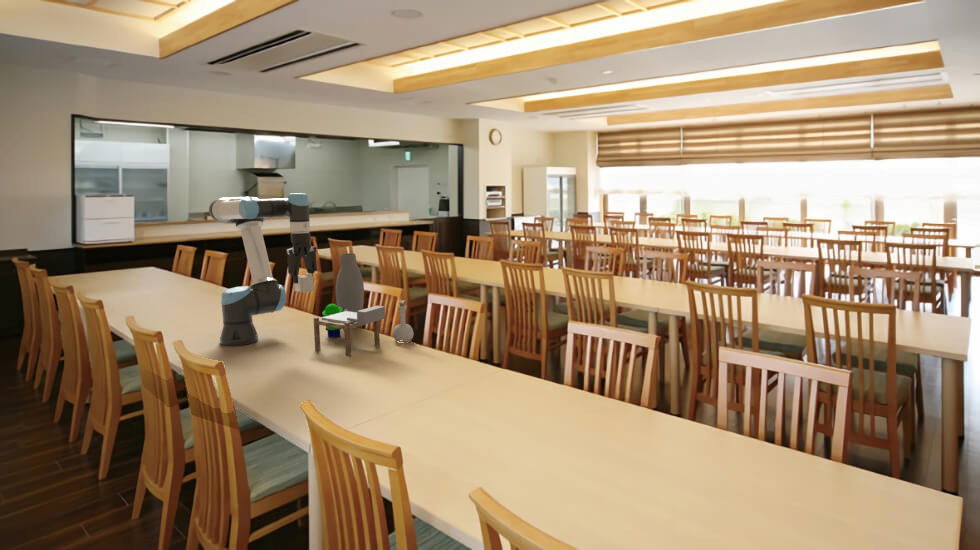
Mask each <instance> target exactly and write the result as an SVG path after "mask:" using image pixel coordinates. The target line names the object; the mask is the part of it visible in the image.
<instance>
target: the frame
mask: <svg viewBox="0 0 980 550" xmlns="http://www.w3.org/2000/svg"><path fill="white" fill-rule="evenodd" d="M344 311H348V310H343V312H344ZM361 325H363V326H364V324H357V322H354V323H351V324H350V322H346V323H344V324H341V323H334V322H328V321H325V320H322V319H320V317H316V316H315V317H313V332H314V335H313V336H314V337H313V338H314V350H315V351H321V349H322V348H321V335H320V334H321V333H320V332H321V331H320V330H321V329H320V326H322V327H323V326H324V327H326V326H329V327H335V328H341V330H344V331H343V332H344V343H345V344H344V345H345V357H352V339H351V329H355V328H354V327H357V326H361ZM373 335H374V336H373V338H374V340H373V343H374V346H375V345H376V346H375V347H379V346H380V344H381V341H380V340H381V339H380V320H379V321H375V322H373ZM378 345H379V346H378Z"/></svg>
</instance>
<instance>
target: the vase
mask: <svg viewBox="0 0 980 550" xmlns="http://www.w3.org/2000/svg"><path fill="white" fill-rule="evenodd" d="M339 260H340V261H339V262H340V267H339V268H340V269H339V271H338V273H337V277H336V282H335V299H336V300H335V301H336V305H337V306H338V307H341V308H344V310H348V311H350V312H357V311H359V310H363V309H364V308H363V307H364V294H365V293H364V292H365V290H364V289H365V287H364V284H365V283H364V278H363V275H362V272H361V271H360V268H359V266H358V261H357V255H356V253H351V252H350V253H349V252H348V253H342V254H340V255H339ZM356 322H357V321H356ZM352 323H354V322H352ZM343 324H344V323H343ZM350 324H351V323H350ZM363 326H364V325H361V326H357V328H362V327H363ZM357 328H356V329H357Z"/></svg>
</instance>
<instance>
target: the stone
mask: <svg viewBox="0 0 980 550" xmlns="http://www.w3.org/2000/svg"><path fill="white" fill-rule="evenodd" d="M300 280H301V291H300V292H299V291H295V283H294V282H293V289H294V290H293V292H295V293H309V292H314V291H315V283H314V282H315V281H314V275H313V276H307V275H306V274H301V275H300Z"/></svg>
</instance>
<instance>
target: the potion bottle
mask: <svg viewBox="0 0 980 550" xmlns="http://www.w3.org/2000/svg"><path fill="white" fill-rule="evenodd" d="M397 307H398V310H399V321H400V322H399V324H397V325H395V326H394V328H393V330H392V331H393V332H392V335H393V339H394V341H395V343H396V342H397V341H399V342H404V343H403V344H408V343H407V342H410V343H411V342H412V339H413V338H414V330H413V328H412V326H411V325H410V324H407V323H406V310H407V305H406V300H404V299H401V300H399V303H398V304H397ZM400 340H403V341H400Z"/></svg>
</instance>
